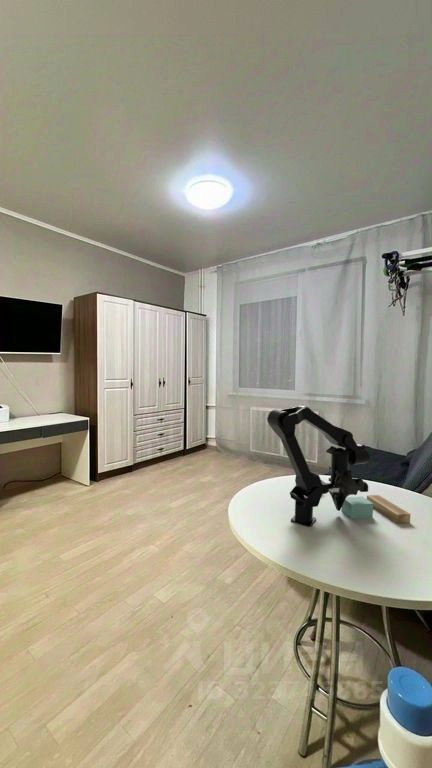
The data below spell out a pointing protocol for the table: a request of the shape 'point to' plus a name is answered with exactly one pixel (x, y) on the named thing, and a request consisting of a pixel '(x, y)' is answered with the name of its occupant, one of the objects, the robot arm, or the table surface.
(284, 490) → the table surface
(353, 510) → the block
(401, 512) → the board
